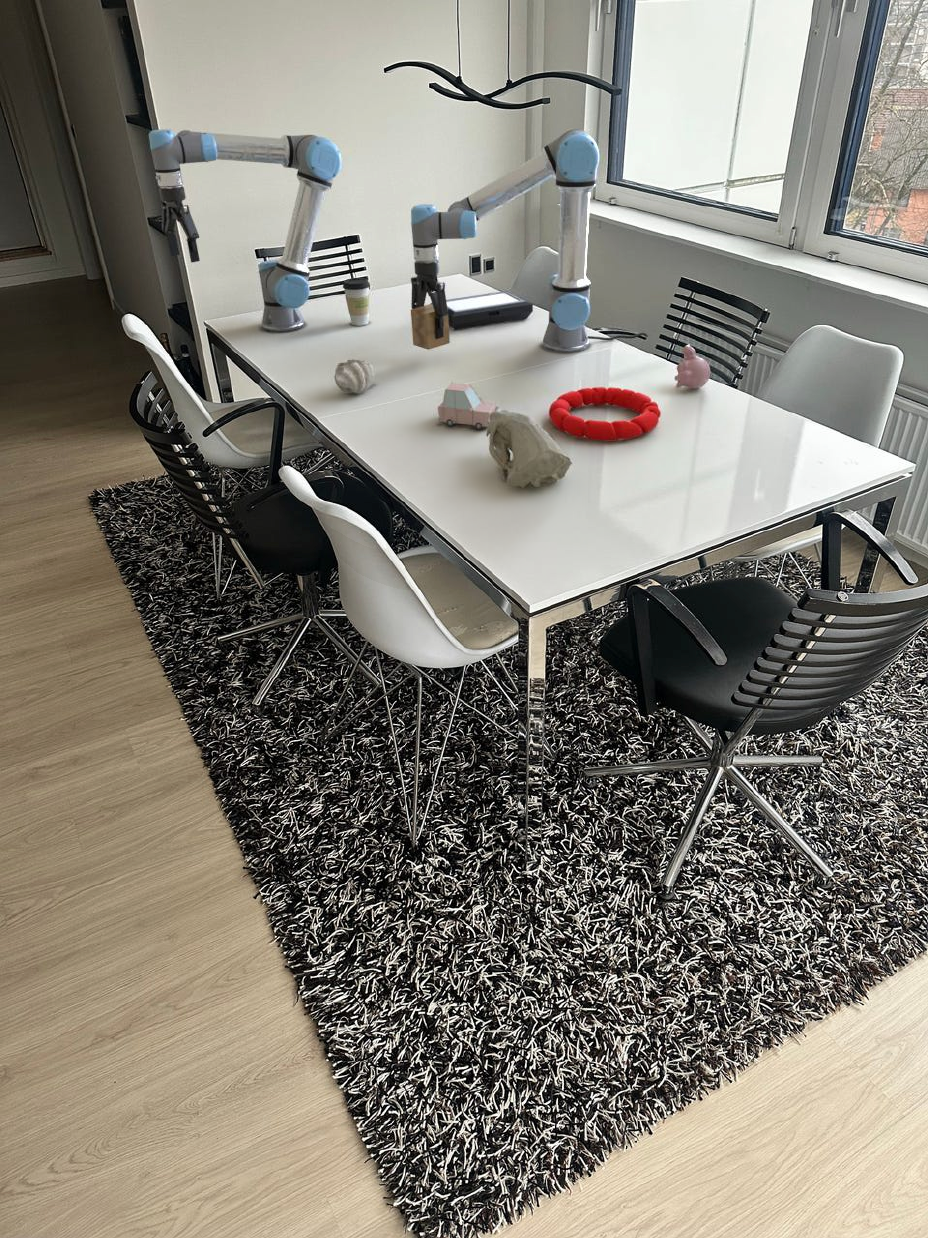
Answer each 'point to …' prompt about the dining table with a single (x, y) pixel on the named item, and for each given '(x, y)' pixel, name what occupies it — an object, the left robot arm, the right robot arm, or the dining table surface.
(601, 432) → the decorative ring
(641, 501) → the dining table surface
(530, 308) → the electronic device
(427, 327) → the brown wooden block
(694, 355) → the figurine
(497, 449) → the animal skull
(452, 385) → the toy car
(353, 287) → the coffee cup
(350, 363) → the seashell
